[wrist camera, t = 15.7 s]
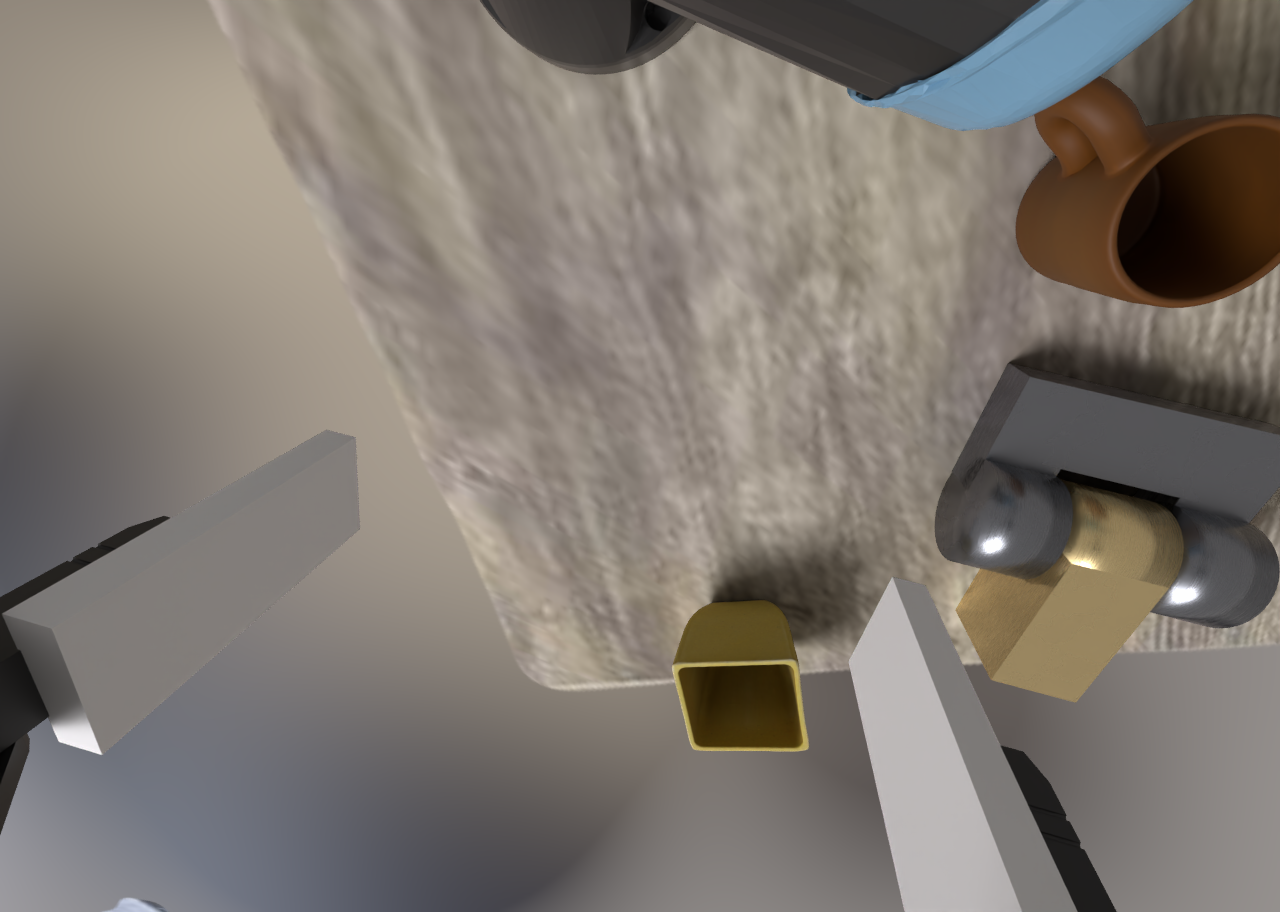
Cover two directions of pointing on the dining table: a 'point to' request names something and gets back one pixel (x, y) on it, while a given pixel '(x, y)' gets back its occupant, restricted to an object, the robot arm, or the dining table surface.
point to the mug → (1152, 201)
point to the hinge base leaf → (1123, 453)
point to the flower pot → (740, 679)
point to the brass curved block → (1076, 596)
